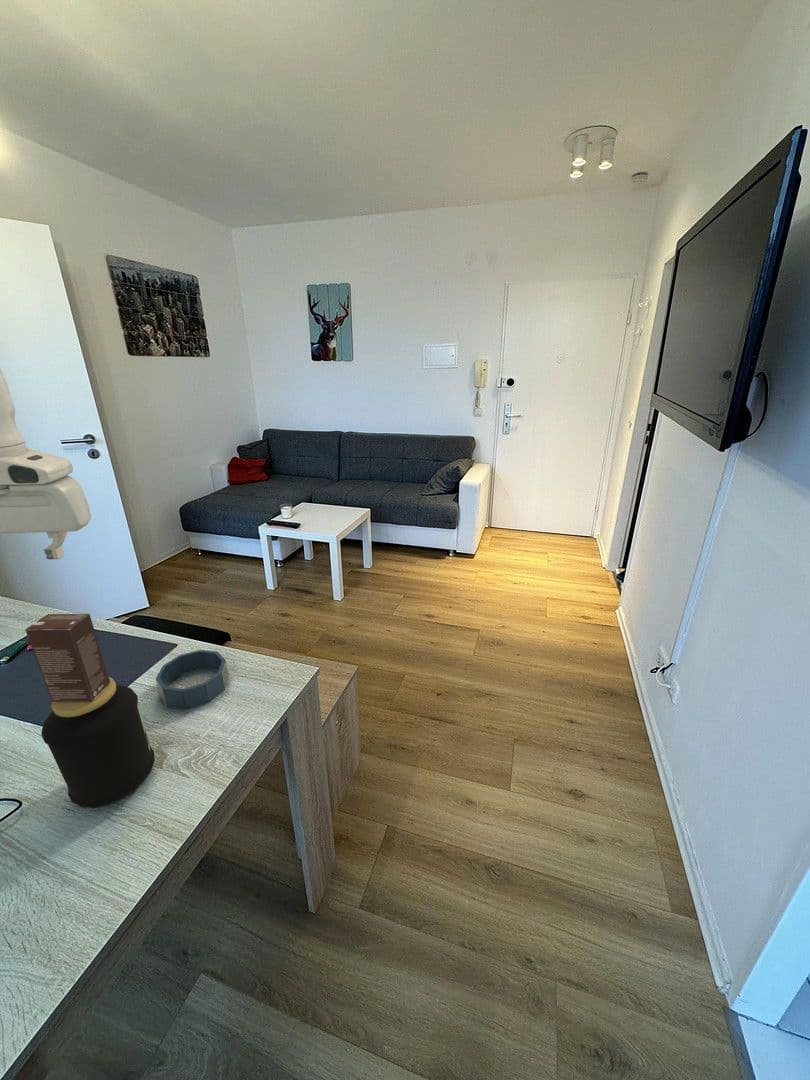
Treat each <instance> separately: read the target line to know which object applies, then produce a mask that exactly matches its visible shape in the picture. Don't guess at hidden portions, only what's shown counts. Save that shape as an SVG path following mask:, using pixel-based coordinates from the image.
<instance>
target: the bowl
mask: <svg viewBox="0 0 810 1080" xmlns="http://www.w3.org/2000/svg"><path fill="white" fill-rule="evenodd" d="M226 660H227V659H225V658H224V657H223V655H221V654H220V652H219V651H214V650H207V649H206V650H205V649H198V650H194V651H190V652H186V653H182V654H179V655H177V656H175V657H174V658H173V659H171V660H170V661H168V662H166V663H165V664H163V665H162V666H161V668H160V669H159V672H158V673H157V675H156V677H155V682H156V686H157V690H158V695H159V697H160V699H161V700H162V702H163V703H164V704H165V706H166V707H167V708H173V709H179V710H180V709H181V710H189V709H192V708H196V707H198V706H199V707H200V706H202V705H205V704H206V705H207V704H209V703H210V702H212V701H213V700H214V699H215V698H217V697H218V696H219V695H220V694H222V693H223V692H224V691H225V690H226V688H227V684H228V680H229V677H230V676H229V672H228V666H227V661H226ZM199 670H212V671H213V670H214V671H218V672H216V673H215V674H213V675H212V676H211V677H210V678H208V679H207V680H205V681H204V682H202V683H198V684H195V685H191V686H188V687H185V688H181V687H172V686H170V684H172V683H173V682H175V681H176V680H178V679H179V678H180V677H182V676H183V675H185V674H187V673H192V672H195V671H199Z"/></svg>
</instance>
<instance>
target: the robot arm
mask: <svg viewBox="0 0 810 1080" xmlns="http://www.w3.org/2000/svg"><path fill="white" fill-rule="evenodd" d="M11 394H12V393H11V391H10V388H9V386H8V383H7V380H6V377H5V375H4V372H3V371H2V368H1V367H0V534H25V533H26V534H28V533H46V535H47V538H48V539H49V540H51V539H52V542H51V544H50V545H48V546H47V547H45V548H44V549H43V551H44V555H46V556H45V558H46V559H47V560H60V559H62V558H63V557H64V556H65V551H64V548H63V544H64V542H65V540H66V538H67V535H68V532H69V533H70V532H74V533H75V532H78V531H80V530H81V529H83V528H84V527H85V526H87V525H88V524H89V523H90V521H91V519H92V514H91V510H90V505H89V503H88V500H87V497H86V494H85V492H84V490H83V488H82V485H81V484H80V482H79V481H78V480H77V479H76V478H75V477H73V476H71V475H70V474H72V473H73V471H74V467H73V464H72V462H71V460H69V459H67V458H66V457H65V458H64V457H61V456H57V455H53V454H50V453H46V452H41V451H40V450H39V451H38V450H36V449H32V448H29V447H27V445H26V441H25V438H24V437H23V434H22V433H21V432H20V430H19V429H18V426H17V424H16V408H15V404H14V400H13V397H12V395H11Z"/></svg>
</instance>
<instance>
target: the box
mask: <svg viewBox="0 0 810 1080" xmlns="http://www.w3.org/2000/svg"><path fill="white" fill-rule="evenodd" d="M91 617H92V616H91V614H90V613H47V614H46V615H44V616H43V617H41V618H40V619H38V620H37V621H36V622H34V623H32V624H31V625H30V626H28V627H26V628H25V629H24V631H25V633H26V636H27V639H28V641H29V644H30V647H31V649H32V653H33V654H34V658H35V660H36V662H37V663H36V664H37V666H38V669H39V671H40V675H41V676H42V679H43V682H44V685H45V688H46V690H47V693H48V695H49V699H50V701H51V703H52V702H70V701H72V702H73V701H94V700H95V699H96V698H97V697H98V696H99V695H100V694H101V693H102V692H103V690H104V689H105V688H106V687H107V686H108V685H109V683H110V679H109V677H110V676H109V672H108V670H107V666H106V663H105V660H104V657H103V653H102V650H101V647H100V643H99V640H98V638H97V637H98V636H97V633H96V630H95V627H94V624H93V621H92V618H91Z"/></svg>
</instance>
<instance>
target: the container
mask: <svg viewBox="0 0 810 1080" xmlns="http://www.w3.org/2000/svg"><path fill="white" fill-rule="evenodd" d="M109 679H110V683H109V685H108V686H107V687H106V688H105V689H104V690H103V692H102V693H101V694H100V695H99V696H98V697H97V698H96V699H95V700H94V701H73V702H72V701H70V702H52V701H51V710H52V711H51V712H50V713H49V715H48V716H47V717H46V719H45V720H44V722H43V724H42V728H41V738H42V740H43V742H44V743H45V744H46V745H47V746H48V748H49V750H50V753H51V755H52V756H53V759H54V761H55V763H56V765H57V768H58V770H59V771H60V774H61V776H62V778H63V780H64V782H65V784H66V786H67V788H68V789H67V795H68V797H69V799H70V801H71V802H72V803H73V804H75V805H77V806H79V808H86V809H87V808H88V809H96V808H101V807H107V806H110V805H112V804H115V803H117V802H118V801H122V800H123V799H124V798H126V797H127V796H129V795H131V794H132V793H134V792H135V791H136V790H137V789H138V788H139V787H140V786H142V784H143V783H145V781H146V780H147V778H148V777H149V776H150V774H151V773H152V770H153V767H154V765H155V761H156V758H155V757H156V756H155V750H154V749H153V748H152V747H151V745H150V741H149V738H148V734H147V730H146V727H145V724H144V720H143V716H142V713H141V710H140V705H139V700H138V699H139V698H138V695H137V693H136V692H135V691H134V690H133V688H131V687H129V686H126V685H123V684H117V683H116V681H115V680H114V679H113V678H112V677H110V676H109Z"/></svg>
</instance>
